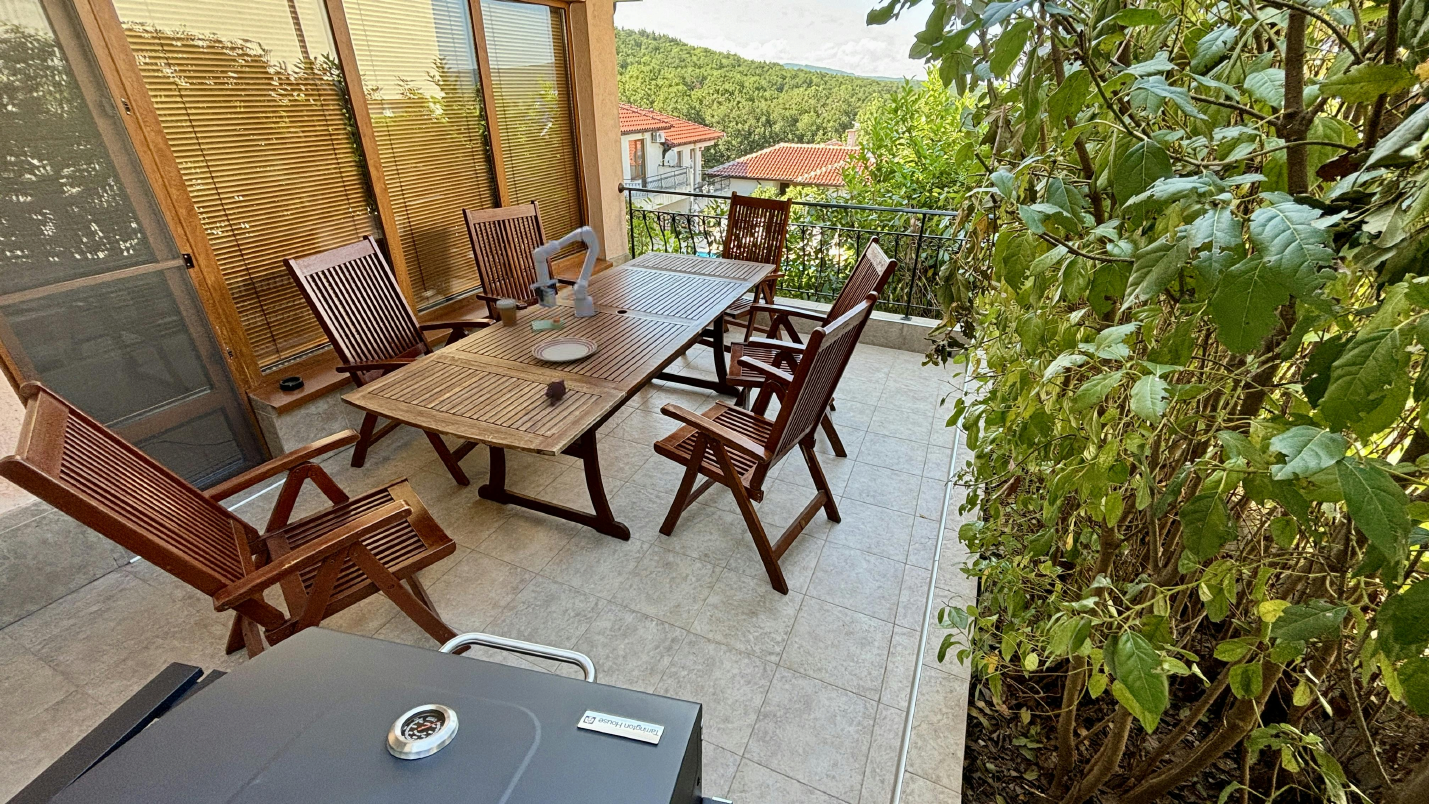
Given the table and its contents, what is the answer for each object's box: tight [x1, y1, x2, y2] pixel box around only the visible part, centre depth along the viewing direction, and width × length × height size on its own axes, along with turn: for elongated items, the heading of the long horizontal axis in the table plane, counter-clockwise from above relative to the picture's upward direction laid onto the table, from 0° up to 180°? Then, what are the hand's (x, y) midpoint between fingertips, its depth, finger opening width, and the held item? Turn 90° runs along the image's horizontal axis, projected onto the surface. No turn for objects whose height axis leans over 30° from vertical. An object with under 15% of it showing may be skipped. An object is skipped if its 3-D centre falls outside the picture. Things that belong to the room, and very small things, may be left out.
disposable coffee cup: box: [495, 298, 518, 328], centre depth 292 cm, size 10×10×12 cm
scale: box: [530, 318, 564, 333], centre depth 291 cm, size 15×13×3 cm
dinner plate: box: [531, 336, 598, 363], centre depth 258 cm, size 27×27×3 cm
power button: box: [552, 317, 561, 323], centre depth 288 cm, size 3×3×2 cm
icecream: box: [544, 379, 567, 407], centre depth 220 cm, size 7×7×15 cm
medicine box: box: [537, 286, 558, 309], centre depth 297 cm, size 8×4×9 cm, turn 59°
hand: (546, 300), depth 298 cm, fingers open, 5 cm apart
